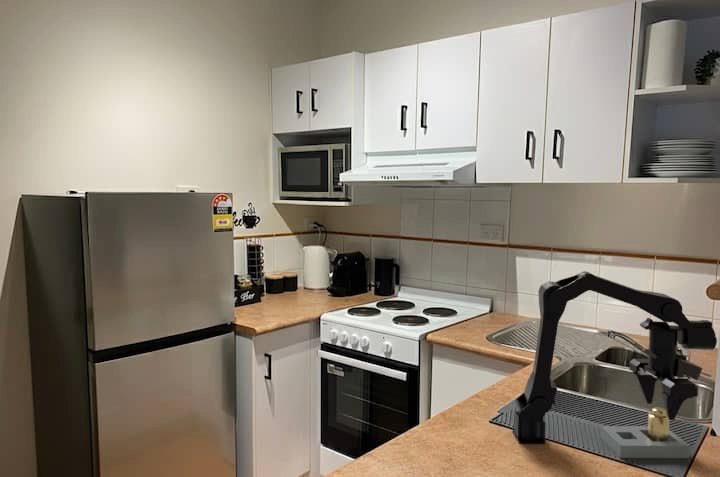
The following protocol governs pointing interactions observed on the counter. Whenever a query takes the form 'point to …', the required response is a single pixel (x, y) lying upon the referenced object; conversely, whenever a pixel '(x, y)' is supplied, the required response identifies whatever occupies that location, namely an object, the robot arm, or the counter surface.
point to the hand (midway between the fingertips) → (659, 411)
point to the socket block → (642, 443)
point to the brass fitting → (658, 425)
